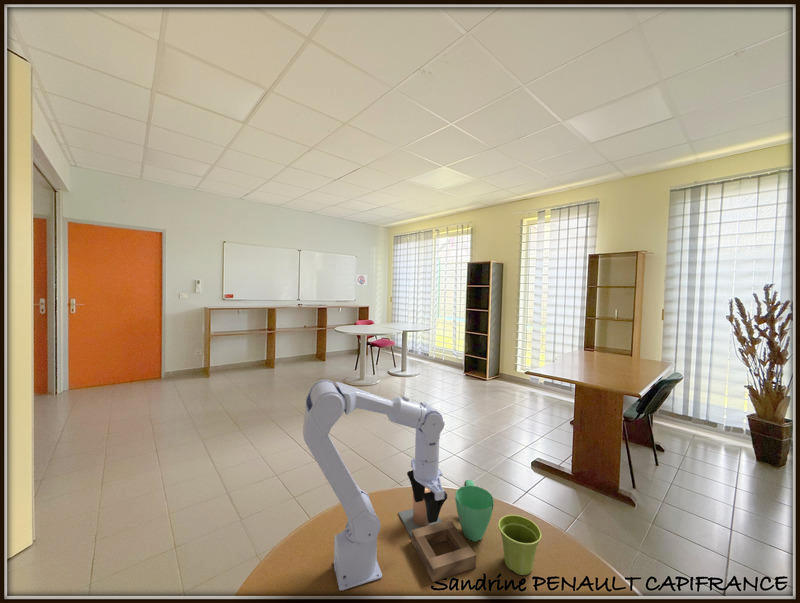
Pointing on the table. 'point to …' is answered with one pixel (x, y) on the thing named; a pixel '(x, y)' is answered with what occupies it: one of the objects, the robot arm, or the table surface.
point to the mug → (473, 510)
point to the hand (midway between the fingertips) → (425, 510)
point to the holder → (447, 562)
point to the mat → (411, 520)
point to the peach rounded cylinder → (420, 512)
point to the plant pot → (519, 542)
